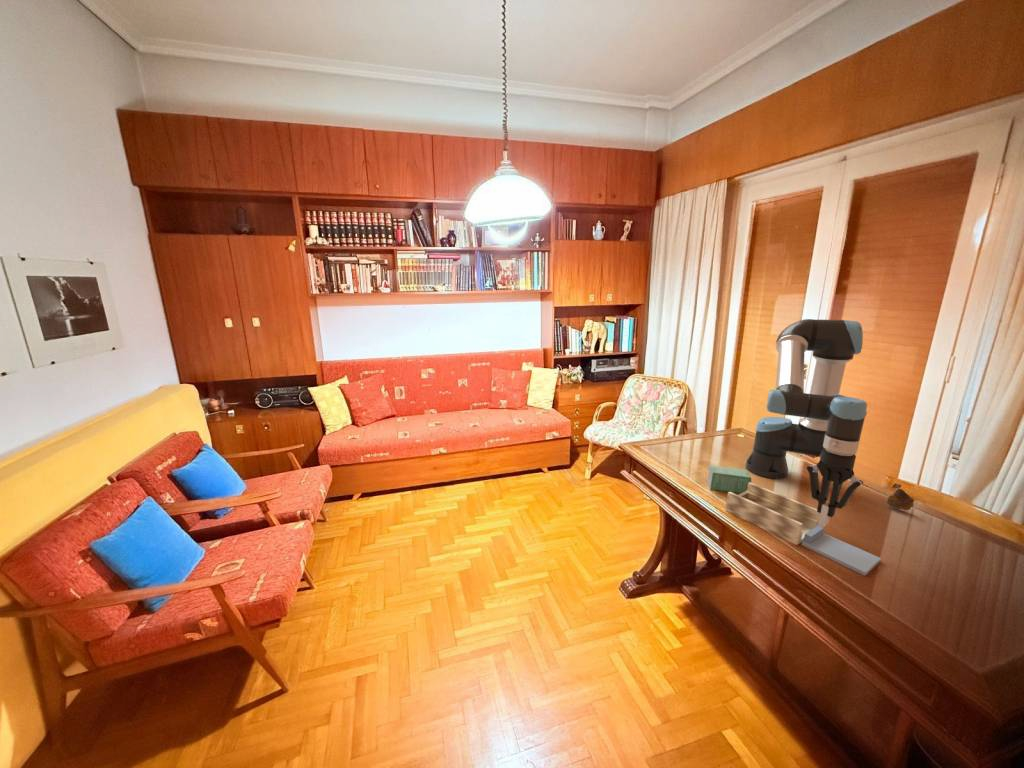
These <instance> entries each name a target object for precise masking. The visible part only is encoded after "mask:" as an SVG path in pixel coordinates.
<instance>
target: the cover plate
mask: <svg viewBox="0 0 1024 768" xmlns="http://www.w3.org/2000/svg"><path fill="white" fill-rule="evenodd" d="M825 527H826V526H822V525H817V526H816V527H814V528H813V529H811V530H810V531H808V532H807V533H805V536H804V541H802V542H801V543H800V544H801V546H802V545H803V546H802V547H804V548H807V549H808V550H811V551H812V552H815V553H816V554H819V555H821V556H823V557H825V558H827V559H829V560H831V561H833V562H835V563H838V564H840V565H842V566H844V567H846V568H848V569H850V570H852V571H853V572H856V573H858V574H860V575H863V576H864V577H865V576H867V575H868V574H869V573H870V572H871V571H872V569H875V567H876V566H877V565H879V563H880V562H881V560H882V558H881V557H879V556H877V555H874V554H873V553H870V552H868V551H867V550H866V551H865V550H864V549H861V548H859V547H856V546H854V545H851V543H847V542H845V541H843V540H840V539H838V538H837V537H834V536H832V535H829V534H827V533H824V532H825Z"/></svg>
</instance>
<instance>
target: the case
mask: <svg viewBox="0 0 1024 768" xmlns="http://www.w3.org/2000/svg"><path fill="white" fill-rule="evenodd" d="M725 511H726V512H727V513H729V514H731V515H734V516H736V517H737V518H740V519H742V520H744V521H746V522H748V523H750V524H752V525H754V526H757V527H758V528H761V529H762V530H764V531H767V532H768V533H771V534H773V535H775V536H777V537H778V538H781V539H783V540H784V541H785V540H786V541H787V542H789V543H791V544H793V545H796V546H798V545H799V544H802V542H803V541H804V536H805V533H807V532H808V531H810V530H811V529H813V528H814V527H816V526H817V525H819V524H818V523H819V518H820V513H819V512H817V508H815V507H813V506H810V505H808V504H805V503H802V502H800V501H798V500H795V499H792V498H790V497H787V496H786V495H782V494H780V493H778V492H776V491H774V490H773V491H772V490H770V489H768V488H765V487H762V486H760V485H758V484H755V483H752V482H751V483H750V482H749V483H748V486H747V491H745V492H743V493H734V492H727V496H726V505H725Z"/></svg>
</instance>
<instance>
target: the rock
mask: <svg viewBox="0 0 1024 768" xmlns="http://www.w3.org/2000/svg"><path fill="white" fill-rule="evenodd" d="M902 486H903V485H902V484H899V483H894V484H893V485H892V487H891V488H893V489H897V490H895V492H893V493H892V494H890V495H889V497H888V498H887V501H886V503H887V504H888V505H889V506H890V507H892V508H893V509H896V510H902V511H903V510H904V511H909V510H911V508H913V507H914V502H915V499H914V498H913V497H911V496H910V495H909V494H908V493H907V492H905V490H903V489H902V488H901V487H902Z"/></svg>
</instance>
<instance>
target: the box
mask: <svg viewBox="0 0 1024 768" xmlns="http://www.w3.org/2000/svg"><path fill="white" fill-rule="evenodd" d="M749 482H750V483H752V477H751V476H750V474H749V473H748V469H742V468H736V467H735V468H734V467H728V466H727V467H726V466H718V465H711V464H709V465H708V473H707V477H706V483H707V485H709V486H708V488H709V490H714V491H720V492H727V493H728V492H732V493H734V494H741V493H743V492H745V491H747V486H748V483H749Z"/></svg>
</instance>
